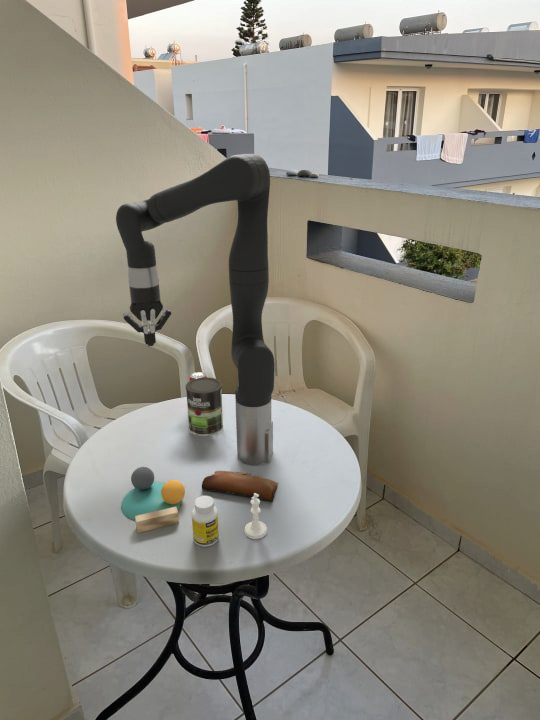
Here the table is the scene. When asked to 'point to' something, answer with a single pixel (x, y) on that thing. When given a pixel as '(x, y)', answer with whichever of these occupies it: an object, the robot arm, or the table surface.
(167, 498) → the object ball
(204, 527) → the supplement bottle
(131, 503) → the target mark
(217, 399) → the coffee can
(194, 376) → the beverage can
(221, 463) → the table surface
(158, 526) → the strip
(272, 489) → the sunglasses case
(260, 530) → the chess piece
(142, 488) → the gray ball
